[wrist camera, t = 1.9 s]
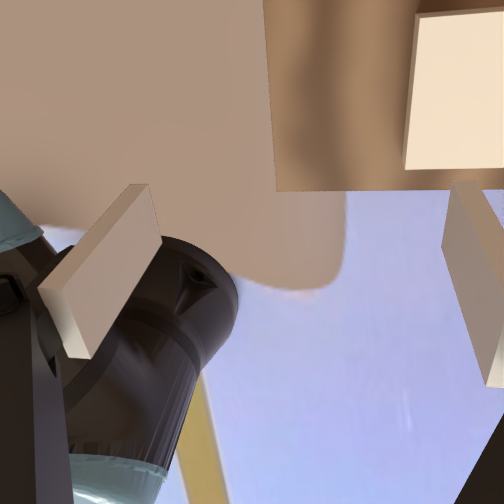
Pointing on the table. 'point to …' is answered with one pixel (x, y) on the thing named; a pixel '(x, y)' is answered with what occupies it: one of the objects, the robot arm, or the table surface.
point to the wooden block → (349, 95)
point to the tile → (456, 91)
